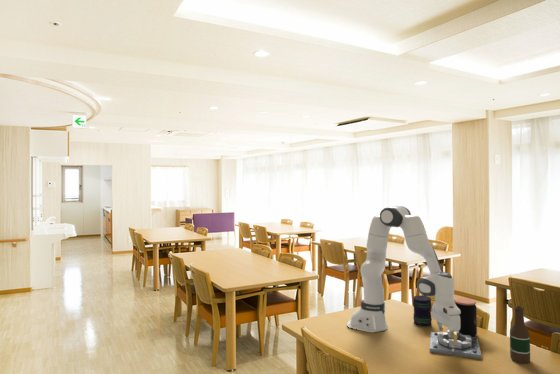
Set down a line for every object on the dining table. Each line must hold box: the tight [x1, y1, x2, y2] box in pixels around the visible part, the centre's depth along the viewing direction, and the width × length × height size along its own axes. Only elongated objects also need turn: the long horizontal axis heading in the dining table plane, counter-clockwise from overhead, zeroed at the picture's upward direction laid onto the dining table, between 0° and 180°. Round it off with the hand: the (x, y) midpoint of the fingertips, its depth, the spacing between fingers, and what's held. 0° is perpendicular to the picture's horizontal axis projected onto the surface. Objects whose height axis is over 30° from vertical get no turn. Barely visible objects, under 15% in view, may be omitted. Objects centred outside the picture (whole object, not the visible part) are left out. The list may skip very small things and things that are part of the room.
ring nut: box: [436, 329, 472, 349], centre depth 191 cm, size 18×15×6 cm
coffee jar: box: [454, 297, 478, 337], centre depth 206 cm, size 11×11×18 cm
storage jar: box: [412, 295, 433, 328], centre depth 223 cm, size 10×10×15 cm
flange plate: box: [429, 331, 482, 360], centre depth 191 cm, size 22×22×6 cm
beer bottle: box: [509, 305, 531, 364], centre depth 175 cm, size 8×8×24 cm
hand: (445, 333), depth 191 cm, fingers open, 7 cm apart
